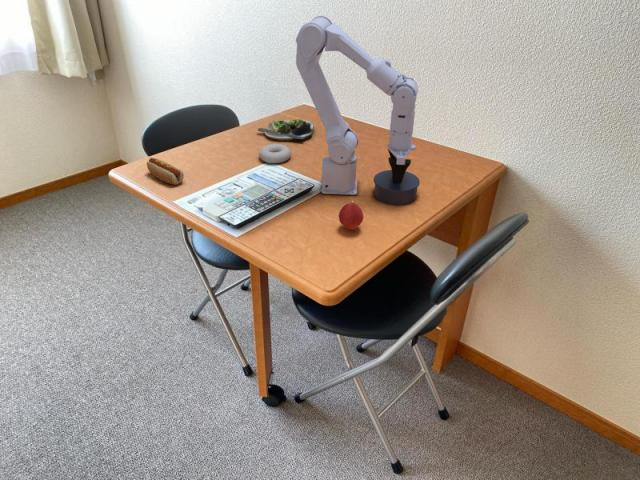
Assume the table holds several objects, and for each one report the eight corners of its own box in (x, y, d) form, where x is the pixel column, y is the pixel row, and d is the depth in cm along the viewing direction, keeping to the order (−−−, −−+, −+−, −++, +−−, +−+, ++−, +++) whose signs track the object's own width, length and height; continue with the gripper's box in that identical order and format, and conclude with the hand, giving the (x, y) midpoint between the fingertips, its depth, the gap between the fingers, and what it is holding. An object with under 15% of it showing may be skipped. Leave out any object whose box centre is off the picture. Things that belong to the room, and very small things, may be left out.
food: (144, 174, 141) (141, 159, 138) (160, 168, 144) (157, 153, 141) (172, 189, 133) (169, 173, 130) (188, 182, 137) (186, 166, 134)
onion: (335, 233, 115) (335, 204, 110) (342, 221, 119) (343, 192, 115) (358, 237, 113) (360, 208, 109) (365, 225, 117) (367, 197, 113)
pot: (374, 203, 126) (375, 190, 124) (374, 184, 136) (375, 171, 133) (417, 205, 125) (419, 192, 123) (414, 185, 135) (415, 172, 132)
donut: (255, 164, 147) (286, 166, 145) (254, 153, 145) (286, 155, 143) (265, 151, 155) (294, 153, 153) (264, 141, 153) (294, 142, 151)
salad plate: (254, 143, 160) (252, 130, 158) (261, 123, 175) (260, 111, 172) (311, 144, 159) (311, 130, 157) (314, 124, 174) (314, 112, 172)
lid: (373, 193, 124) (374, 177, 121) (373, 172, 134) (374, 157, 131) (421, 195, 123) (423, 179, 120) (417, 174, 133) (419, 158, 131)
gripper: (420, 141, 114) (413, 191, 121) (415, 119, 126) (410, 166, 133) (390, 140, 114) (385, 190, 122) (388, 118, 126) (384, 165, 134)
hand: (396, 178), depth 128 cm, fingers open, 5 cm apart
